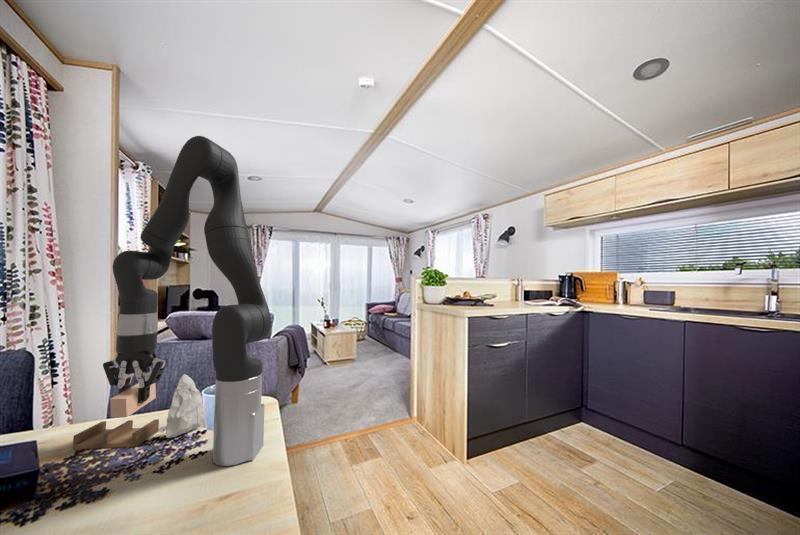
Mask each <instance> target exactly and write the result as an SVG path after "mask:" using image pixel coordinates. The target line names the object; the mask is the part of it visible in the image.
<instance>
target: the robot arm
mask: <svg viewBox="0 0 800 535" xmlns="http://www.w3.org/2000/svg"><path fill="white" fill-rule="evenodd" d="M198 178H202V179H204V180H206V181H208V183H209V185H210V188H211V191H212V196H213V205H212V208H211V210H210V211H209V213H208V215H207V217H206V220H205V222H204V227H203V230H204V232H203V233H204V238H205V243H206V249H207V252H208V255H209V258H210V259H211V261H212V262H213V264H214V265H215V266H216V267H217V269H218V270H219V271H220V272H221V274H223V276H224V277H225V278H226V279H227V281H228V282H229V283H230V284H231V286H232V288H233V290H234V293H235V296H236V299H237V302H238V303H237V304H229V305H224V306H222V307H220V308H219V309H218V310H217V311H216V313H215V315H214V318H213V320H212V321H213V322H212V328H211V331H212V332H211V337H212V363H213V368H214V371H215V388H214V390H215V391H214V392H215V393H214V414H213V440H212V441H213V442H212V443H213V444H212V462H213V463H214V465H216V466H221V467H222V466H223V467H229V466H234V465H235V466H236V465H240V464H242V463H244V462H247V461H254V459H255V458H256V456H257V455H258V454H259V452H260V450H261V449H262V448H263V447H264V435H265V433H264V431H265V403H262V393H263V392H262V391H263V390H262V389H263V387H262V384H263V361H262V360H261V359H260V358H258V357H252V356H251V357H250V356H248V352H247V344H252V343H257V342H259V341H263V340H265V339H266V338H267V337H268V336H269V334H270V332H271V328H272V316H271V313H270V309H269V308H270V307H269V306H268V303H267V299H266V296H265V293H264V291H263V288H262V285H261V282H260V279H259V275H258V271H257V268H256V263H255V262H256V261H255V259H254V255H253V250H252V244H251V238H250V233H249V230H248V229H249V228H248V226H247V222H246V218H245V217H246V216H245V212H244V206H243V202H242V197H241V190H240V189H241V186H240V178H239V167H238V164H237V160H236V158H235V157H234V156H233V154H231V152H229V151H228V150H227V149H225V148H224V147H222V146H220V145H219V144H217V143H216V142H214V141H213V140H211V139H209V138H208V137H207V136H206V137H205V136H203V135H194V136H193V137H190V138H189V139H188V140H187V141H186V142H185V143H184V144H183V146H182V147H181V149H180V151H179V154H178V156H177V158H176V161H175V164H174V166H173V168H172V171H171V173H170V175H169V179H168V181H167V183H166V187H165V190H164V192H163V194H162V197H161V199H160V202H159V204H158V206H157V207H156V209H155V211H154V213H153V214H152V215H151V217H150V219H149V221H148V222H147V223H146V225H145V226H144V229H142V231H141V234H140V240H141V242H142V243H143V244H145V245H146V246H148V247H149V250H148V251H139V250H124V251H122V252H120V253H118V254H117V255H116V257H115V258H114V260H113V263H112V274H113V277H114V279H115V283H116V287H117V290H118V293H119V294H118V295H119V296H120V302H119V315H118V316H119V317H118V320H117V327H116V328H117V329H116V344H115V352H116V353H117V355H116V357H115V359H113V360H108V361H106V362H103V363H102V367H103V370H104V373H105V375H106V376H105V377H106V378H107V381H108V383H109V386H111V387H113V386H115V387H117V388H118V394H120V393H122V392H123V391H125V390H127V389H129V388H131V387H132V385H131V384H132V380H133V377H134V376H135V379H136V380H137V382H138V383H139V387H140V388H138V403H143V402H145V401H147V399H148V398H149V396H150V385H152V384H154V383H156V384H157V383H158V382H159V381H160V380H161V377H162V376H163V373H164V371H165V370H166V367H167V365H168V362H169V360H168V359H167V358H165V359H161V358H158V357H157V354H156V350H157V346H158V345H157V344H158V329H159V328H158V325H159V319H158V302H159V294H158V292H157V291H156V290H154V289H151V288H150V289H149V288H146V286H145V285H144V281H143V280H148V281H149V280H150V281H153V280H159V279H160V278H161V277H163V276H164V275H165V274H166V273H167V272H168V270H169V268H170V265H171V261H172V257H173V254H174V251H175V250H174V248H175V246H176V244H177V243H178V241H179V239H180V238H181V236H182V235H183V233H184V232H185V230H186V228H187V226H188V223H189V221H190V220H189V219H190V193H191V189H192V187H193V185H194V184H195V182H196V180H197V179H198ZM138 383H137V384H138Z"/></svg>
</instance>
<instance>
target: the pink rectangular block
mask: <svg viewBox="0 0 800 535" xmlns="http://www.w3.org/2000/svg"><path fill="white" fill-rule="evenodd" d="M156 384H157V382H156V383H154V384H152V385H150V396H149V398H148V399H147V401H145V402H143V403H138V388H140V387H139V383H136V384H134V385H133V386H132V385H131V388H129V389H127V390H125V391H123V392H122V393H120V394H119V393H118V394H117V395H114V396H112V398H110V399H109V400H110V402H109V403H110V406H109V407H110V418H112V419H117V418H118V419H119V418H129V416H131V415H132V414H134V413H135V412H137V411H139V410H140V409H142V408H144V406H146V405H148V404H149V403H150V402H152V401H154V400H155V399H156V398H157V396H156V395H157V392H156V391H157V390H156V389H157V387H156V386H157V385H156Z"/></svg>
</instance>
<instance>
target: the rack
mask: <svg viewBox="0 0 800 535" xmlns="http://www.w3.org/2000/svg"><path fill="white" fill-rule="evenodd" d="M133 423H134V421H133V419H131V420H127V421H125V422H123V423H122V424H120V425H118V426H116V427H114V428H108V429H107V421H106V420H103V421H100V422H97V423H96V424H94V425H92V426H90V427H88V428H86V429H84V430H82V431H80V432H78V433H76V434H75V435H73V438H72V439H73V440H72V450H86V449H91V450H92V449H110V448H111V449H113V448H114V449H115V448H131V447H138V446H140V444H142V443H144V442H145V441H146V440H148V439H149V438H151V437H153V436H154V435H155V434H157V433H158V432H159V425H160V419H153V420H152V421H150V422H149V423H146V424H145V425H144V426H142V427H135V428H134V427H133V426H134V425H133Z"/></svg>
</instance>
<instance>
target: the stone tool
mask: <svg viewBox="0 0 800 535" xmlns="http://www.w3.org/2000/svg"><path fill="white" fill-rule="evenodd" d="M201 393H202V392H200V390H199V389H197V387H196V383H195V381H194V380H193V379H192V377H190V376H189V375H187V374H185V373H184V374H182V376H181V377H180V378H179V381H178V383H177V386H176V388H175V390H174V392H173V396H172V399H171V405H170V408H169V410H168V413H167V418H166V426H165V438H167V439H171V438H176V437H177V436H181V435H183V434H188V433H189V432H190V431H192V430H196V429H198V428H200V427H201V426H202V425H203V423H204V421H205V419H204V417H205V409H204V408H205V406H204V407H203V404H204V397H203V396H202V394H201ZM202 397H203V398H202Z"/></svg>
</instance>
